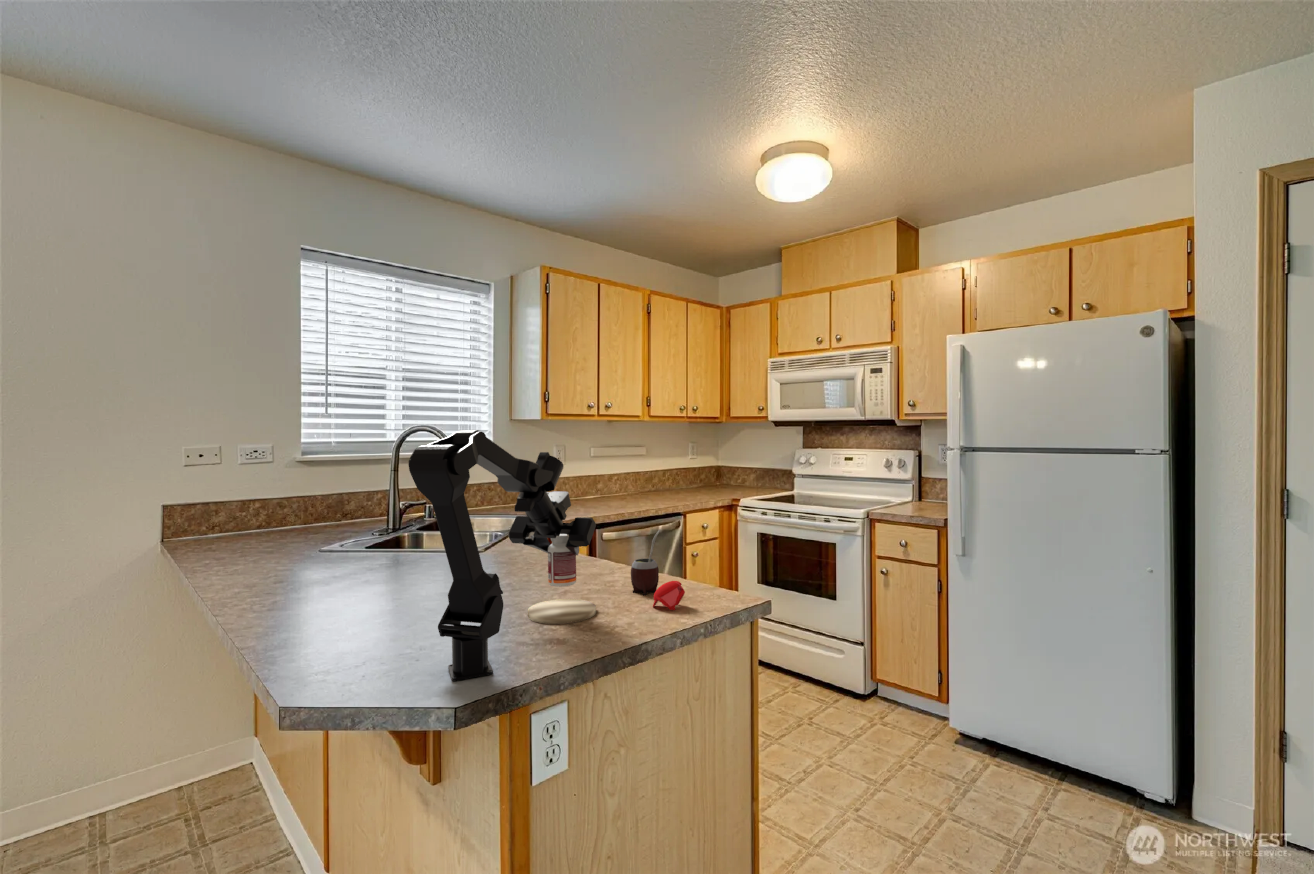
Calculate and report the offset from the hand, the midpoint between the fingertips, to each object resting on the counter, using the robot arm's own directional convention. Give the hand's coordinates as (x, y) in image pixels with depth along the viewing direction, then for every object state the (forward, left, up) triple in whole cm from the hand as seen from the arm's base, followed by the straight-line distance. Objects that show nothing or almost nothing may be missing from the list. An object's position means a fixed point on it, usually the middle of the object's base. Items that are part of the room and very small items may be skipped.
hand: (564, 552), depth 132 cm
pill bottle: (-1, +1, -7) cm, 7 cm away
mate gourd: (+7, -23, -13) cm, 28 cm away
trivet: (-1, +1, -13) cm, 13 cm away
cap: (-8, -22, -13) cm, 27 cm away
